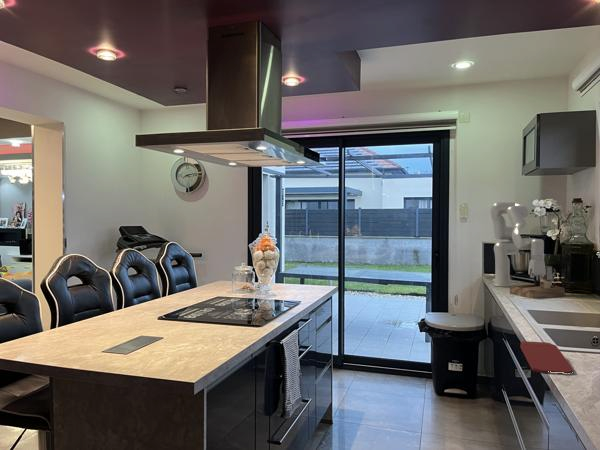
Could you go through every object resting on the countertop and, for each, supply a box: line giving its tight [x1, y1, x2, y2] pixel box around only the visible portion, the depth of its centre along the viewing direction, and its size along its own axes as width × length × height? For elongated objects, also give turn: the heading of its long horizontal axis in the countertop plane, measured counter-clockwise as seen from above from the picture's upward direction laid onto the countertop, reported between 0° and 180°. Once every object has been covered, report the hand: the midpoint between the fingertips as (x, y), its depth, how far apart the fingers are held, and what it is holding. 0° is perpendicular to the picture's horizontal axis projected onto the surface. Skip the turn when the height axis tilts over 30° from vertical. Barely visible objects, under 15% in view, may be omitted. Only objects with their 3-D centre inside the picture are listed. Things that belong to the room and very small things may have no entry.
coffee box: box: [540, 265, 554, 286], centre depth 310 cm, size 9×6×16 cm
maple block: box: [539, 281, 551, 288], centre depth 297 cm, size 5×5×4 cm
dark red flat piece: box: [520, 340, 575, 374], centre depth 162 cm, size 12×5×25 cm
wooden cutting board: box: [509, 283, 566, 299], centre depth 291 cm, size 18×26×5 cm
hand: (537, 286), depth 296 cm, fingers closed
